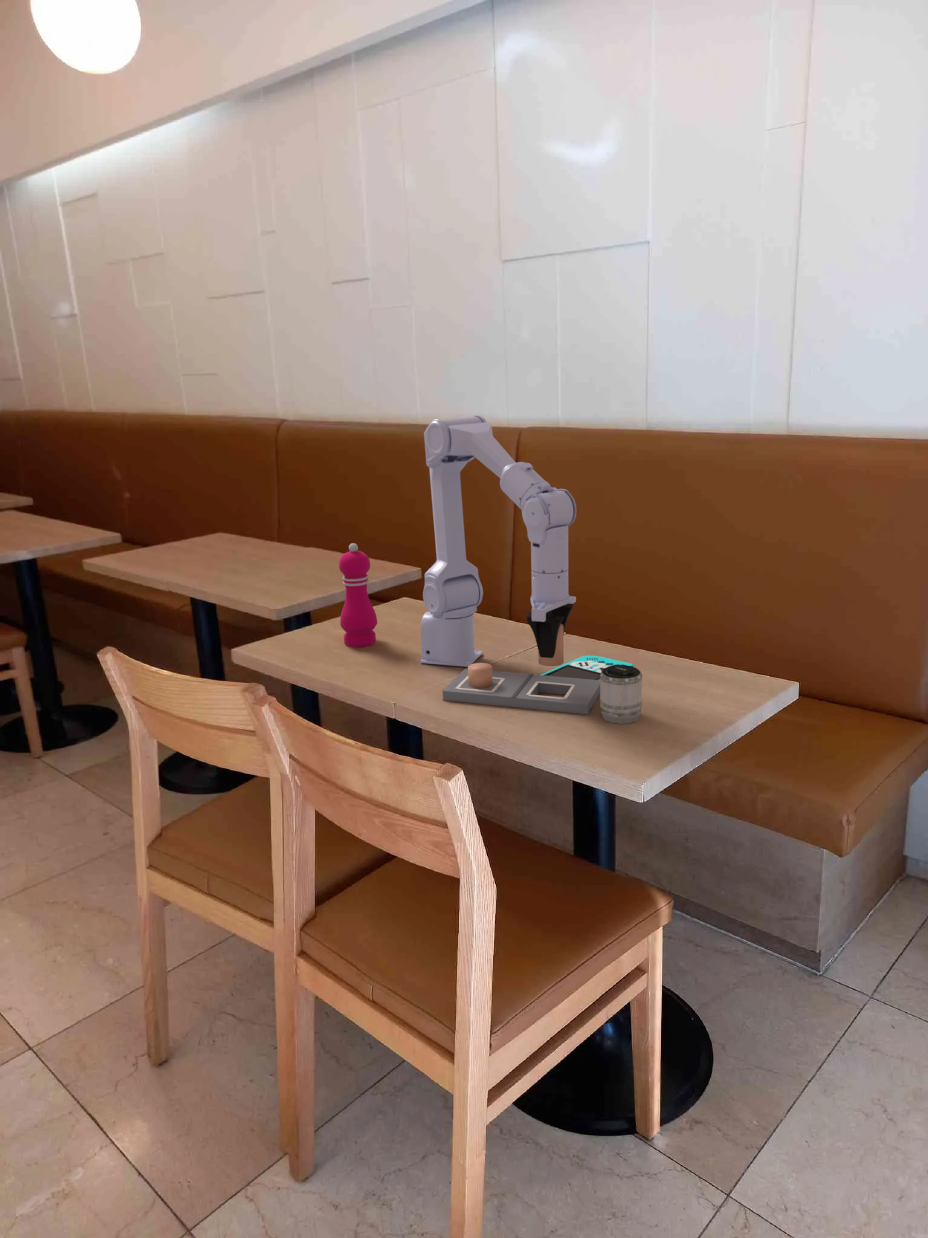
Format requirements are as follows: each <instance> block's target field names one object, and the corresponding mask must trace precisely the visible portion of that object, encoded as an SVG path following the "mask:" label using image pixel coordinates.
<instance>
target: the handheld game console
mask: <svg viewBox="0 0 928 1238" xmlns="http://www.w3.org/2000/svg"><path fill="white" fill-rule="evenodd" d="M617 664H620V665H622V664H623V665H627V666H632V667H634V664H633V663H630V662H625V661H622V660H621V661H620V660H617V659H613V658H608V657H604V656H600V655H598V656H597V655H582V656H579V657H578V658H576V659H573V660H571V661H569V662H567V663H563V664H561V665H559V666H557V667H555V668H553V669H551V670H548V671H546V672H544V673H542V674H540V675H545V676H556V677H567V678H579V679H590V680H600V673H601V672H602V670H603V669H605V668H606V667H609V666H612V665H617Z"/></svg>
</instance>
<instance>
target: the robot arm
mask: <svg viewBox="0 0 928 1238" xmlns="http://www.w3.org/2000/svg"><path fill="white" fill-rule="evenodd" d="M493 435H494V432H493V428H492V425H491V424H490V423H489V422H488V421H487V420H486V419H485V418H484V417H483V416H481V415H474V416H473V415H472V416H468V417H467V416H466V417H456V418H445V419H443V418H442V419H440V418H436V419H433V420H431V421H430V423H429V424H428V425H427V428H426V429H425V431H424V432H423V437H424V440H423V441H424V451H425V463H426V467H428V468H429V479H430V482H429V483H430V490H431V491H430V492H431V493H430V494H431V504H432V505H431V506H432V516H433V528H434V539H435V541H434V542H435V553H436V561H435V562H434V563H433V564H432V565H431V567H430V568H428V570H427V571H426V572H425V573H424V587H423V592H422V599H423V603H424V606H425V608H426V609H427V611H426V612H424V614H423V615H422V619H421V623H420V641H421V642H420V645H421V659H420V663H422V664H430V665H441V666H454V667H462V668H463V667H464V668H468V666H469V665H471V664H474V663H475V661H476V660H478V658H479V657H481V656H482V654H483V651H482V650H476V648H475V647H476V645H475V620H474V618H475V616H474V613H476V612H478V609H477V607H478V606H480V604H481V603H482V601H483V596H484V589H483V585H482V583H481V579H480V575H479V568H478V567H477V566H475V565H474V564H473V563H471V562H470V561H468V560H467V554H466V553H467V552H466V551H467V549H466V540H465V538H466V537H465V524H464V522H465V521H464V510H463V500H462V499H463V498H462V497H463V496H462V483H461V482H462V481H461V471H462V470H463V469H464V468H465V466H466V465H467V463H469V462H471V461H472V460H474V459H476V460H478V461H479V462H480V463H482V465H484V466H485V467H486V468H487V469H488V470H489V471H491V472H492V473H494V474H495V475H496V476H497V477H498V478H499V479H500V480H499V486H500V489H501V490H502V492H503V493H505V495H506V497H508V498H509V499H510V500H511V501H512V502H513V503H514V504H515V505H516V506H517V507H518V508H519V509H520V510H521V515H522V516H521V517H522V520H523V523H524V525H525V527H526V531H527V532H526V533H527V539H528V541H529V542H530V560H531V561H530V563H531V564H530V565H531V568H530V569H531V571H530V572H531V596H530V604H531V607H532V608H531V611H529V612H528V613H527V614H526V615H525V616H526V622H527V623H528V625H529V626H530V628H531V631H532V632H533V636H534V639H535V643H536V646H537V651H539V655H540V657H544V658H553V657H554V654H555V650H556V642H557V635H558V631H559V627H560V625H561V624H562V625H563V637H564V634H565V629H566V626H567V622H568V618H569V617H570V614H571V612H572V610H573V609H574V604H575V603H576V601H577V597H576V596H573V595H570V594H569V527H570V526H571V525H572V524H573V523H574V522H575V520H576V517H577V504H576V501H575V499H574V496H573V495H572V494H571V493H570V492H569V490H567V489H564V488H559V489H558V488H557V487H555V486H553V487H552V486H551V484H550V483H549V482H548V481H546V480H545V479H544V478H543V477H541V475H540V474H539V473H537V471H535V469H534V466H533V465H532V464H531V463H530V462H524V461H519V462H516V461H515V460H514V459H513V457H512V456H511V455H510V454H509V453H508V452H507V451H506V449H505V448H504V447H503V446H502V445H501V443H500V442H498V440H497V439H496V438H495V437H494V436H493Z"/></svg>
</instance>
